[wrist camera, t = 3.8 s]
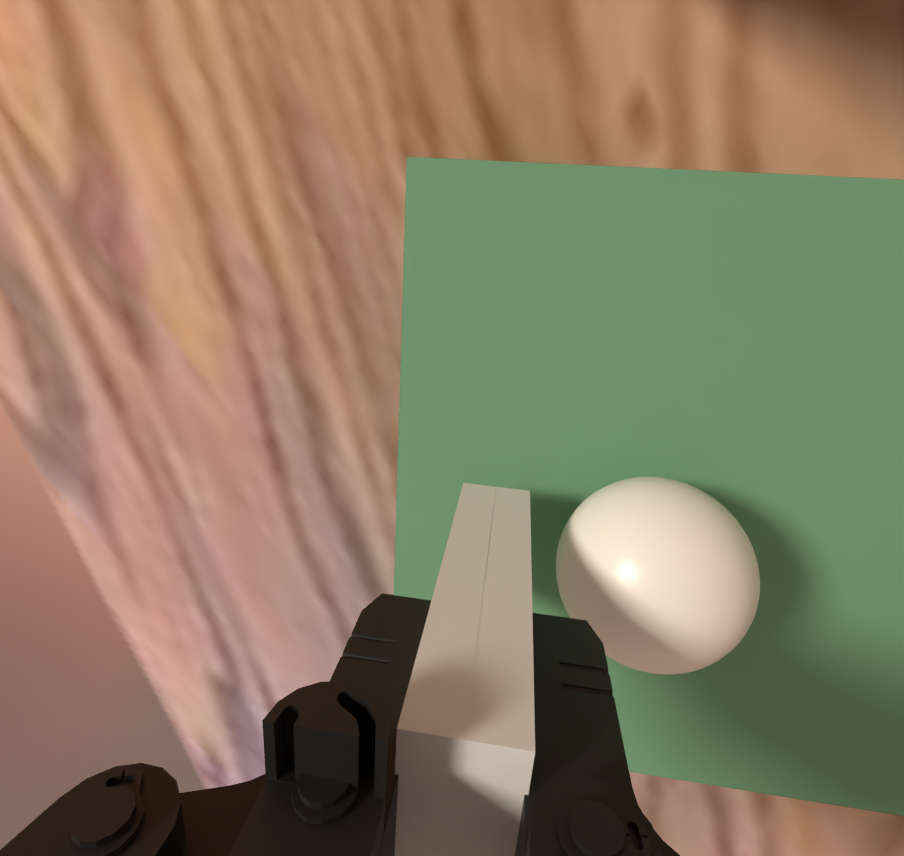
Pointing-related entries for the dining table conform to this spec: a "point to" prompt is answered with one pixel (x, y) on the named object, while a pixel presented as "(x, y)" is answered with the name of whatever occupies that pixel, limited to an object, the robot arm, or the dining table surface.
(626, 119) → the dining table surface
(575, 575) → the ball
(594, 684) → the robot arm
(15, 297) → the dining table surface
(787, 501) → the putting mat
